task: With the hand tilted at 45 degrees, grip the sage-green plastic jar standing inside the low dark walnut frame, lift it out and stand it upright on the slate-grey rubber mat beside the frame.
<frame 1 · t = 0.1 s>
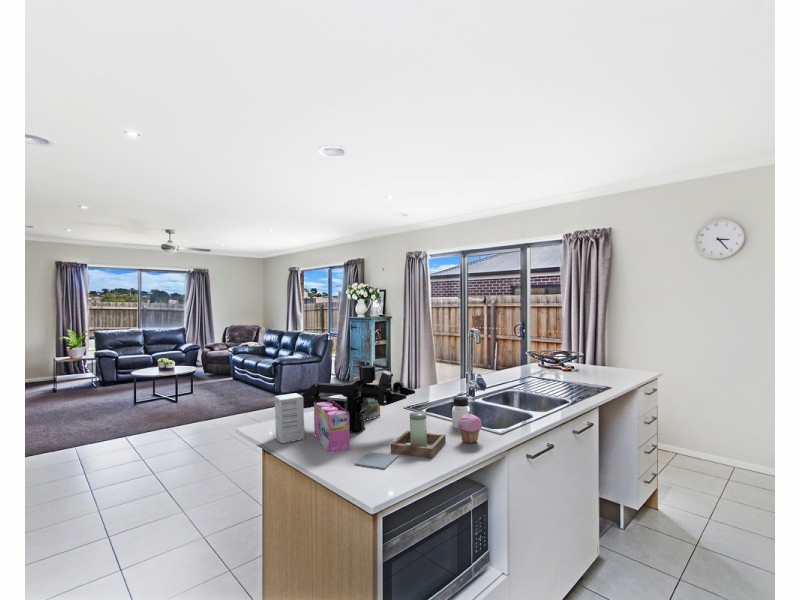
hand: (410, 394, 156), 17 cm above the worktop, tool horizontal, fingers open, 9 cm apart
walnut frame: (419, 447, 144), on the worktop
milk carton: (364, 417, 186), on the worktop
rubber mat: (376, 460, 133), on the worktop
cupcake: (470, 442, 149), on the worktop
supplement box: (290, 439, 158), on the worktop
plastic jar: (418, 430, 144), in the walnut frame
medicine bottle: (461, 426, 169), on the worktop
gum box: (331, 442, 153), on the worktop
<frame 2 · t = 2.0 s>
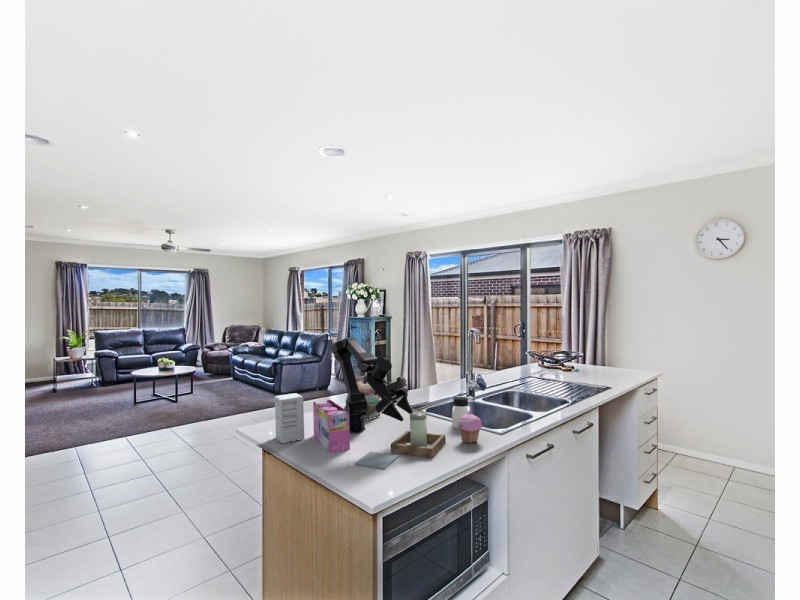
hand: (407, 417, 146), 11 cm above the worktop, tool tilted 45°, fingers open, 9 cm apart
nothing on the worktop moved.
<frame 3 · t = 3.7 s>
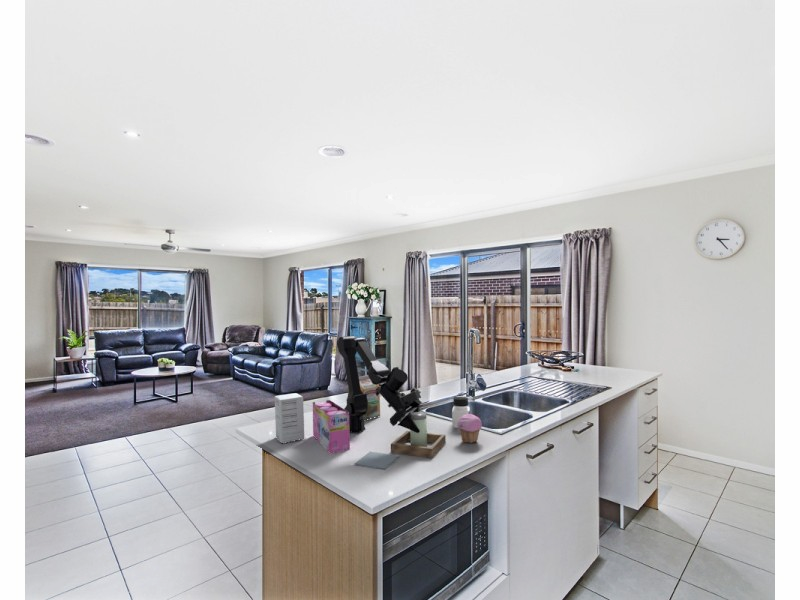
hand: (422, 429, 144), 7 cm above the worktop, tool tilted 45°, fingers closed on plastic jar, 6 cm apart
plastic jar: (418, 430, 144), in the walnut frame, touching gripper
everything else where it was.
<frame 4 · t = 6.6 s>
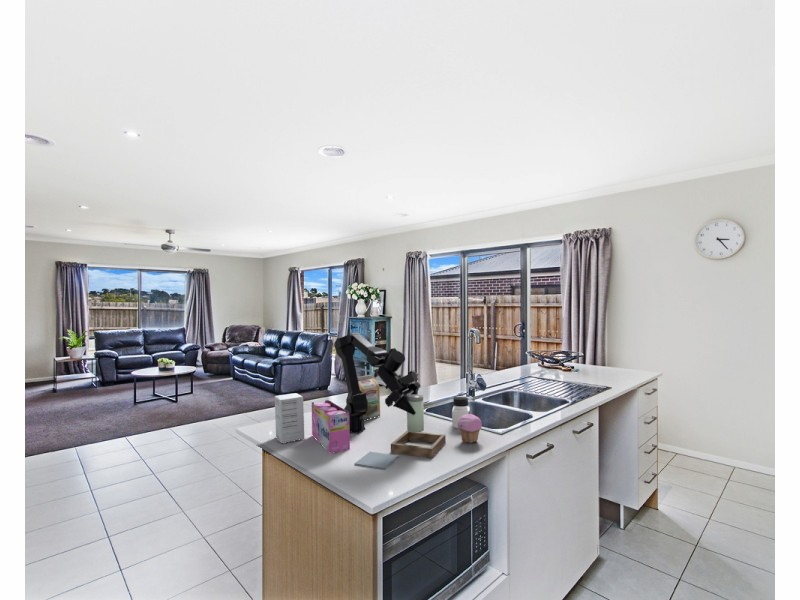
hand: (418, 411, 142), 13 cm above the worktop, tool tilted 45°, fingers closed on plastic jar, 6 cm apart
plastic jar: (415, 413, 143), point 13 cm above the worktop, touching gripper
everything else where it was.
when the fingers open (8 cm above the worktop, at t = 9.7 s): plastic jar drops 1 cm, resting on rubber mat.
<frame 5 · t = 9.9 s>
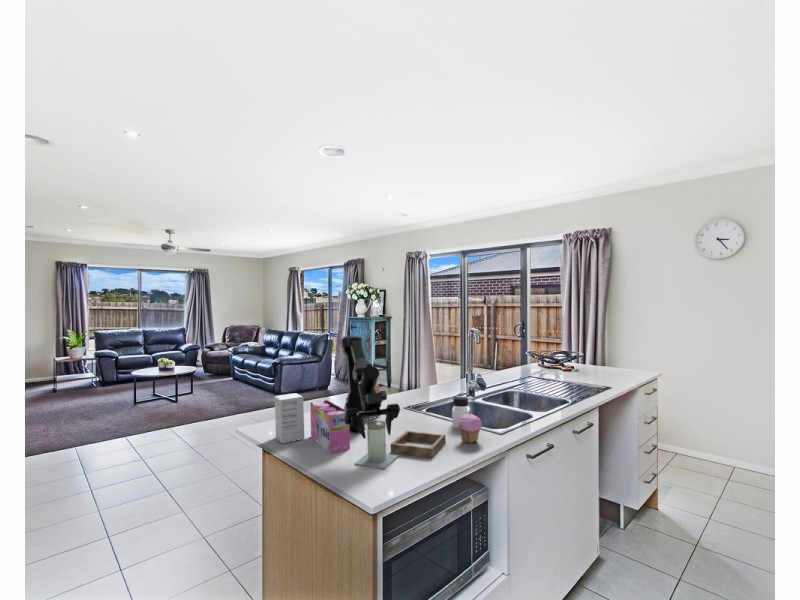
hand: (377, 436, 132), 9 cm above the worktop, tool tilted 45°, fingers open, 8 cm apart
plastic jar: (376, 441, 133), on the rubber mat
everything else where it was.
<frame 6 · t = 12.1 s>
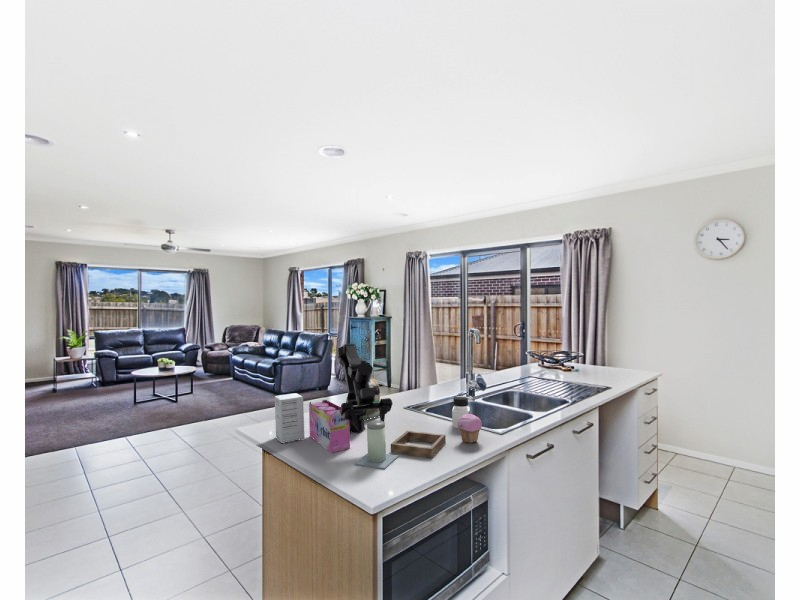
hand: (370, 428, 140), 9 cm above the worktop, tool tilted 45°, fingers open, 9 cm apart
gum box: (329, 442, 153), on the worktop, touching gripper
everything else where it was.
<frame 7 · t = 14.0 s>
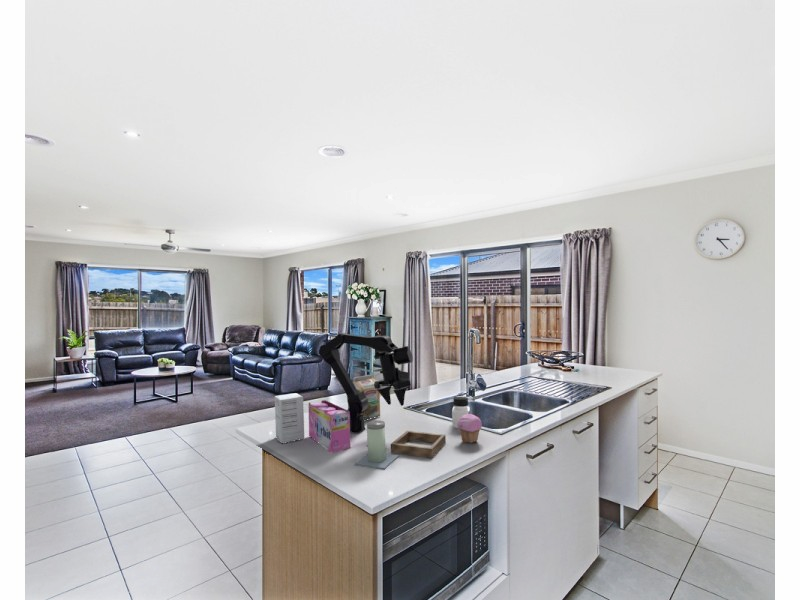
hand: (395, 404, 161), 11 cm above the worktop, tool pointing down, fingers open, 9 cm apart
gum box: (328, 442, 153), on the worktop
everything else where it was.
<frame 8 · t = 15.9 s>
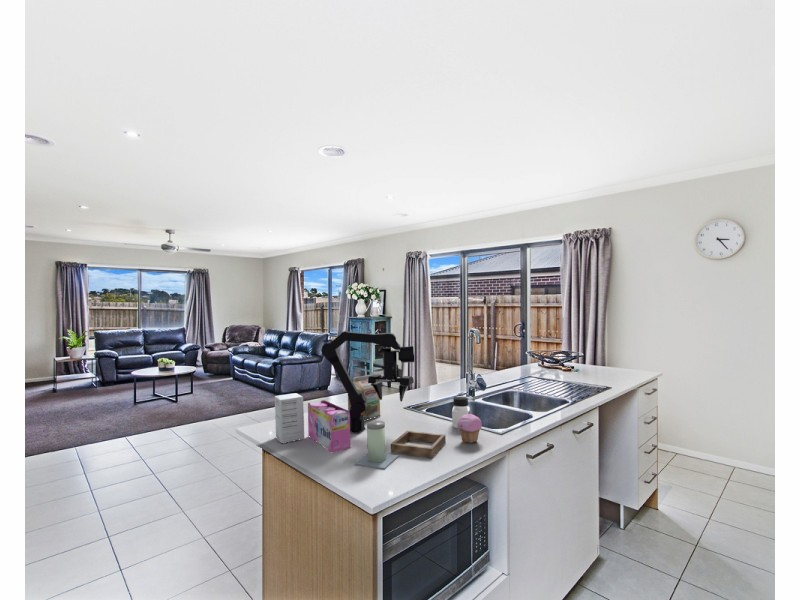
hand: (391, 400, 166), 12 cm above the worktop, tool pointing down, fingers open, 9 cm apart
nothing on the worktop moved.
at the end: plastic jar inside the target area on the rubber mat (0.0 cm from its centre), point 6.5 cm above the rubber mat's base; plastic jar tilted 0°; the gripper is holding nothing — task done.
